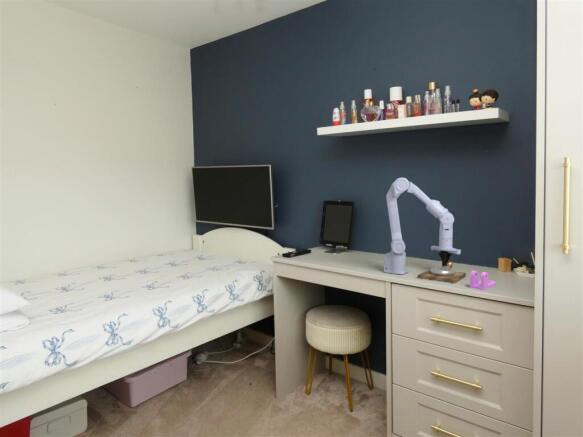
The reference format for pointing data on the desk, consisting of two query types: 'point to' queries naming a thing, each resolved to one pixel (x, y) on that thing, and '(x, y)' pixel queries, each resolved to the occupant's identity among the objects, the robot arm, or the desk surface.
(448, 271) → the dial
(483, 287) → the bracket
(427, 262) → the desk surface
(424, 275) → the dial plate
